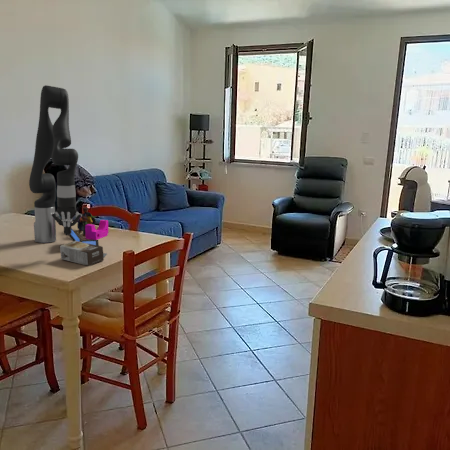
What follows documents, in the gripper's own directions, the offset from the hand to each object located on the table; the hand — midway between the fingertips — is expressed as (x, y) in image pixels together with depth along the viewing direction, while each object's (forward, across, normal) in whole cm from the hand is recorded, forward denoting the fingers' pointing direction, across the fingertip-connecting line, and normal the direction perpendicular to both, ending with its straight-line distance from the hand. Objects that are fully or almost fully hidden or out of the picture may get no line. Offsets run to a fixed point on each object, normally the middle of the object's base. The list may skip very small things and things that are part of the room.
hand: (67, 234), depth 192 cm
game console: (+10, +2, +18) cm, 21 cm away
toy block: (+10, +4, +38) cm, 40 cm away
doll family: (+10, -5, +44) cm, 45 cm away
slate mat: (+10, +10, -1) cm, 14 cm away
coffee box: (+6, 0, -2) cm, 7 cm away
